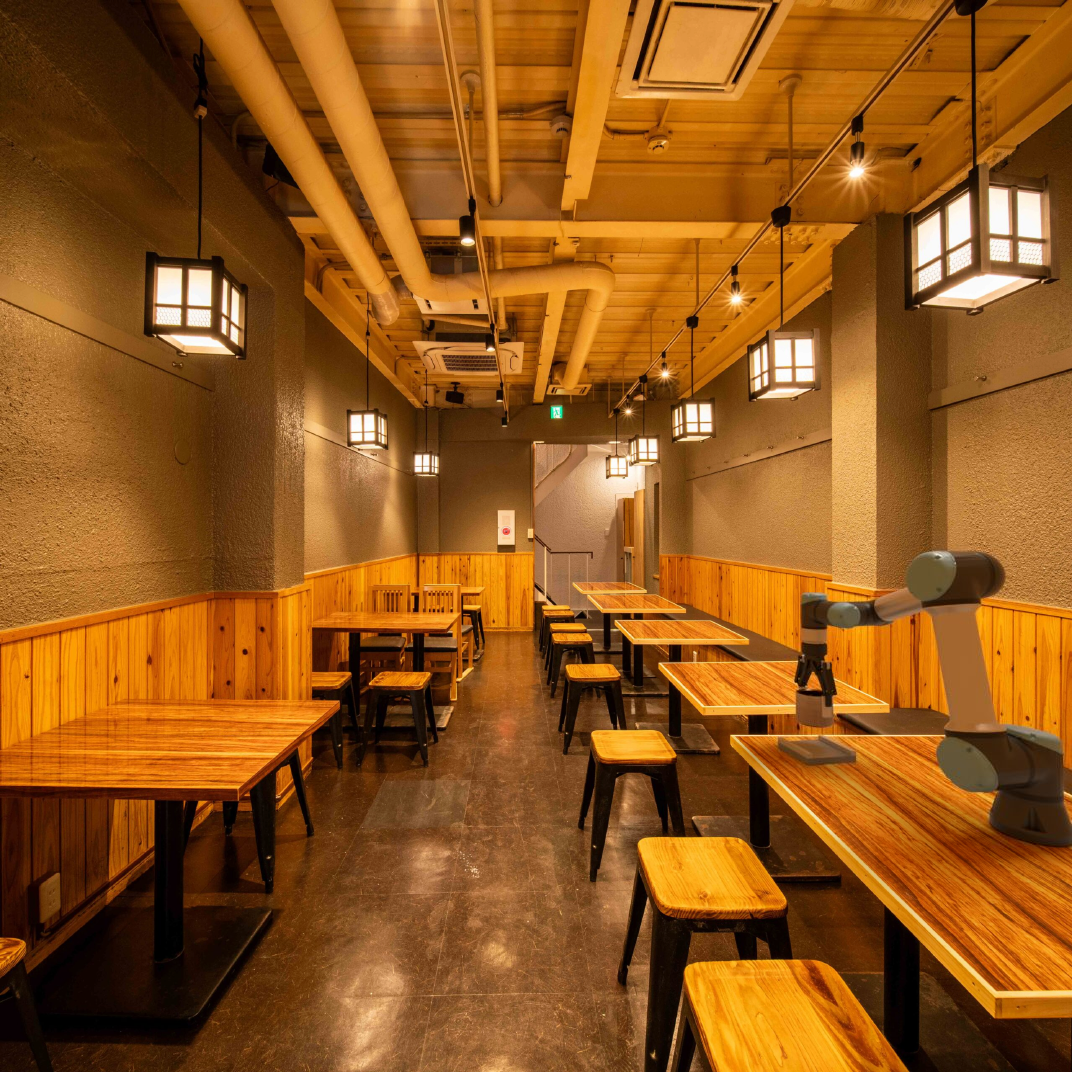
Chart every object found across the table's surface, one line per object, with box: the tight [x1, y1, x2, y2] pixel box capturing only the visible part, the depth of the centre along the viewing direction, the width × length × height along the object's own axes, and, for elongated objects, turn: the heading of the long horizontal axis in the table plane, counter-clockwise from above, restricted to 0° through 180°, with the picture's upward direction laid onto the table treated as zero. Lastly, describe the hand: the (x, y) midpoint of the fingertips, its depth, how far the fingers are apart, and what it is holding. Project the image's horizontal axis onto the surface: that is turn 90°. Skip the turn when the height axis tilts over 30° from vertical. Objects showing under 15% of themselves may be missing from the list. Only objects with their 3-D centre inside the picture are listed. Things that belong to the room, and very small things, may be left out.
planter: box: [795, 688, 835, 729], centre depth 187 cm, size 11×11×10 cm
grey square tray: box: [777, 734, 857, 766], centre depth 186 cm, size 16×16×3 cm
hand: (814, 712), depth 186 cm, fingers closed on planter, 11 cm apart
